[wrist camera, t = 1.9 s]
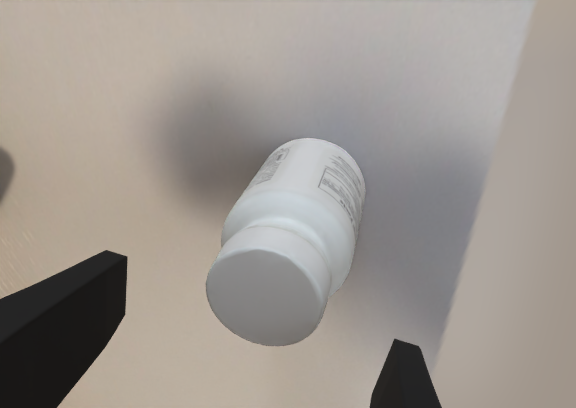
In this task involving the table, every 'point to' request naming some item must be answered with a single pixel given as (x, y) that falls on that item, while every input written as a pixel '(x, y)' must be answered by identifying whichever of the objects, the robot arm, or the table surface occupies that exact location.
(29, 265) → the table surface
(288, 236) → the pill bottle
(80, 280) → the robot arm
